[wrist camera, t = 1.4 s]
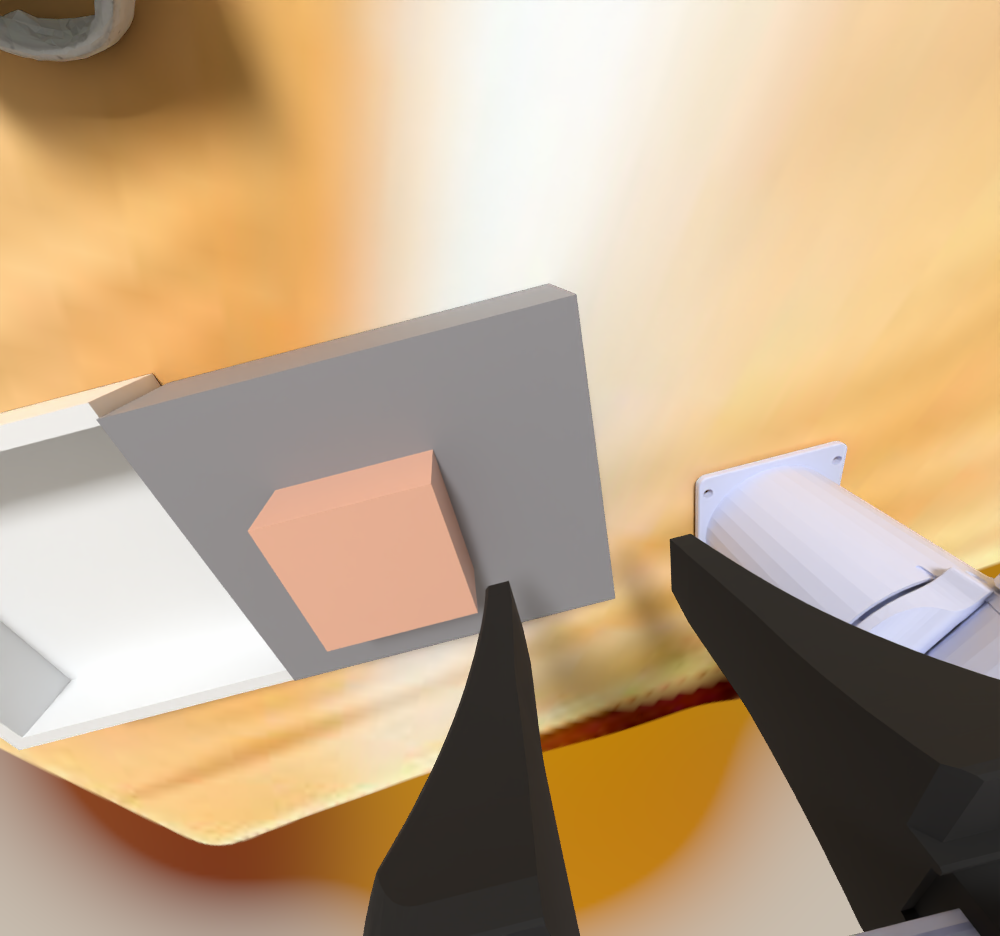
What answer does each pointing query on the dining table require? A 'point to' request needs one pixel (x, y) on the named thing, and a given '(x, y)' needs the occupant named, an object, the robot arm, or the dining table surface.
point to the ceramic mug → (66, 32)
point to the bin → (103, 585)
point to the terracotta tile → (369, 551)
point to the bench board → (393, 457)
